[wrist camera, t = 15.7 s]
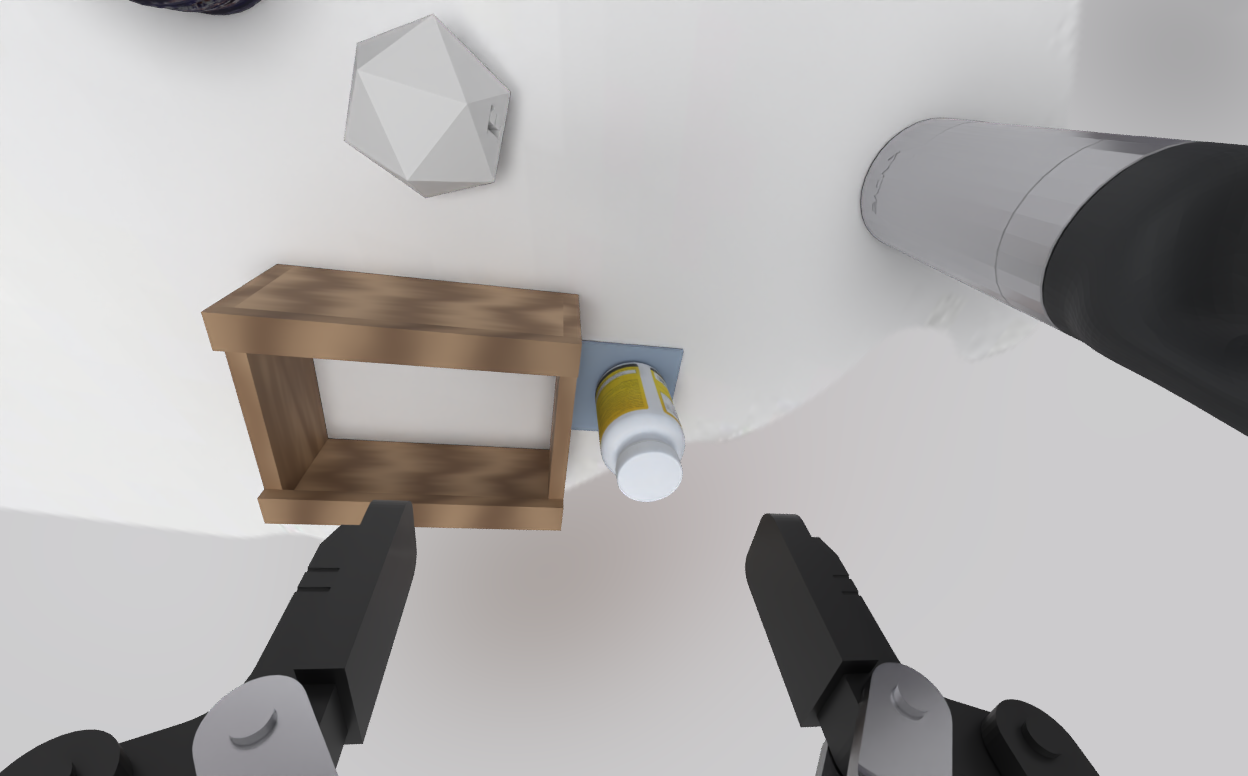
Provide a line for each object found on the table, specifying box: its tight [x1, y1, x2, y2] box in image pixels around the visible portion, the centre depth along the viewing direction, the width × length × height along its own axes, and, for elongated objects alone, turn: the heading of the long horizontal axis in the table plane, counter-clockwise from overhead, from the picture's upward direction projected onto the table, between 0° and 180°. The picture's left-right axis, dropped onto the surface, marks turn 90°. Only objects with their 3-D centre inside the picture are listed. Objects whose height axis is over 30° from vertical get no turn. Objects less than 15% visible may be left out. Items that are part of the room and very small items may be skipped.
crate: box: [201, 264, 582, 530], centre depth 39 cm, size 22×17×9 cm
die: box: [344, 14, 511, 198], centre depth 29 cm, size 8×9×10 cm
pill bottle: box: [595, 362, 685, 502], centre depth 40 cm, size 6×6×12 cm
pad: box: [571, 340, 683, 431], centre depth 45 cm, size 9×9×1 cm
